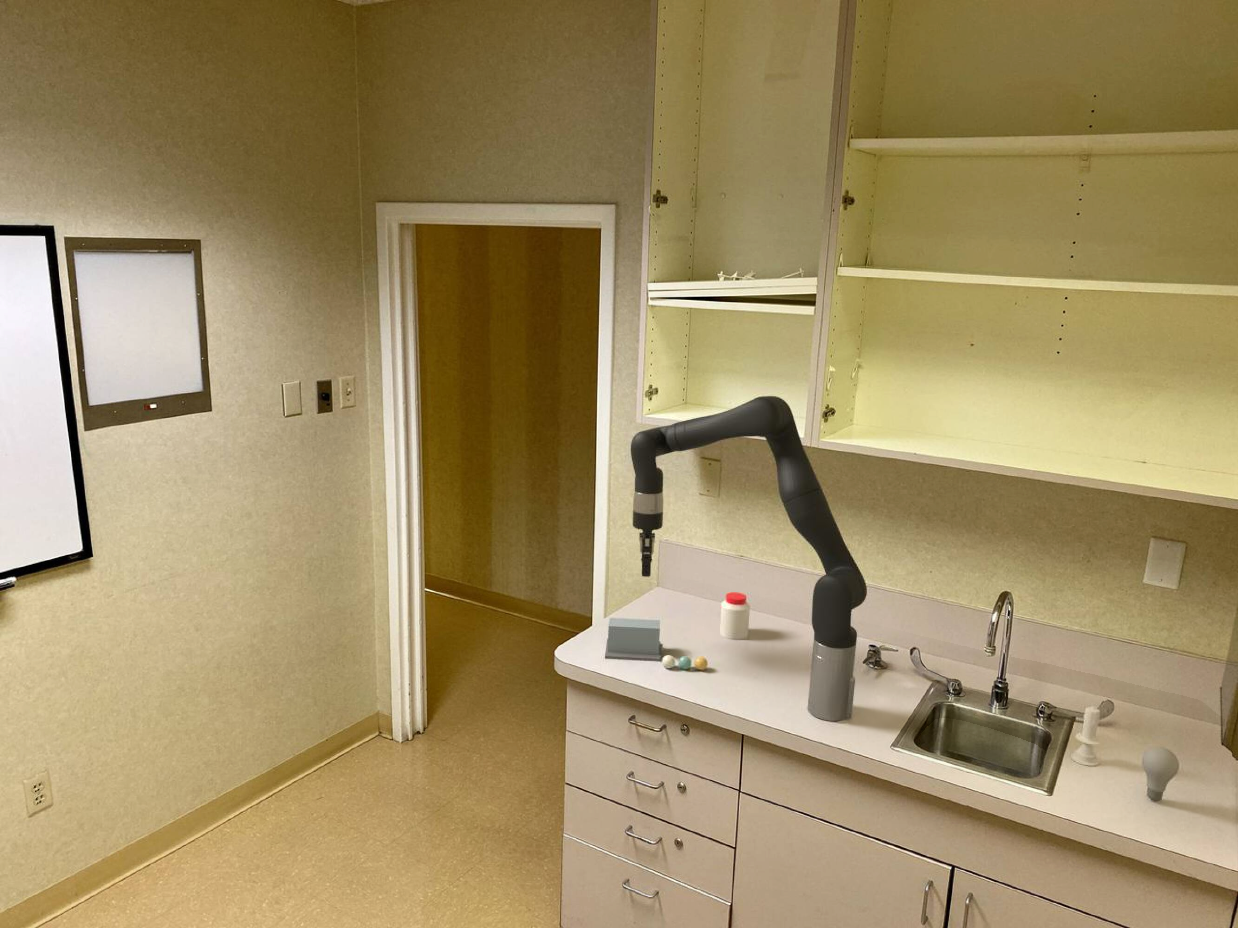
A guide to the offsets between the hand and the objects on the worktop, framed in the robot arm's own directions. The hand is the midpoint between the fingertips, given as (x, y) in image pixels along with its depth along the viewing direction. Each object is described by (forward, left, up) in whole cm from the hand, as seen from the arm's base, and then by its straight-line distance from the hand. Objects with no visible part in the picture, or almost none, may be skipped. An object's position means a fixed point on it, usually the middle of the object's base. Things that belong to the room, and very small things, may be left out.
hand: (646, 570), depth 228 cm
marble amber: (-15, +9, -22) cm, 28 cm away
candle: (-93, +43, -22) cm, 105 cm away
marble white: (-7, +9, -22) cm, 25 cm away
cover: (+2, 0, -21) cm, 21 cm away
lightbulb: (-100, +57, -22) cm, 117 cm away
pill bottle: (-25, -14, -22) cm, 36 cm away
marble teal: (-11, +9, -22) cm, 26 cm away
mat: (+2, 0, -22) cm, 22 cm away
